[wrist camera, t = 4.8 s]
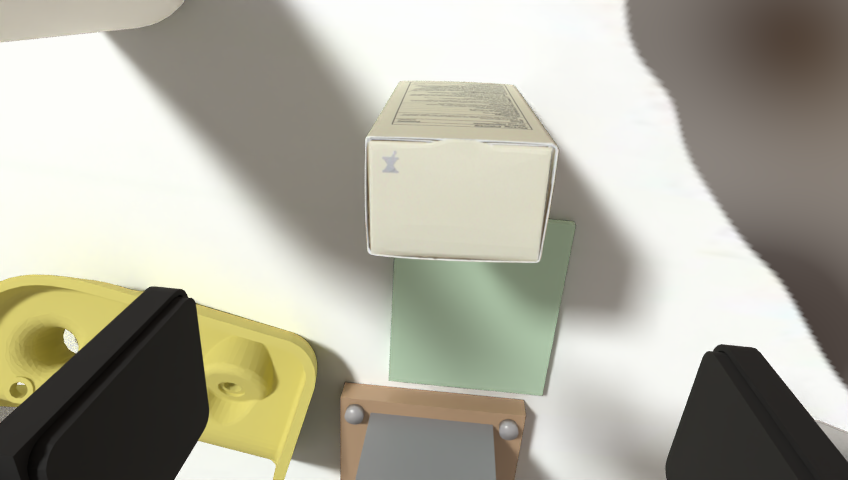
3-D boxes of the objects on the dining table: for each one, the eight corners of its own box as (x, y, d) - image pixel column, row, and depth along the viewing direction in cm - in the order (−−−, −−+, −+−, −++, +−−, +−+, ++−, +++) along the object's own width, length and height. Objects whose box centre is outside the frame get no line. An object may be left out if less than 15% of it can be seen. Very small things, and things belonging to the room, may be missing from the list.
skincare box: (397, 159, 30) (355, 258, 19) (398, 77, 28) (352, 133, 17) (514, 165, 29) (543, 270, 18) (523, 83, 28) (561, 144, 16)
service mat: (389, 374, 36) (388, 380, 35) (397, 206, 31) (396, 210, 30) (540, 389, 35) (542, 395, 35) (573, 221, 30) (575, 225, 30)
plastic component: (326, 351, 33) (273, 510, 32) (329, 328, 40) (286, 458, 40) (-21, 249, 30) (-82, 423, 29) (50, 245, 37) (2, 384, 37)
